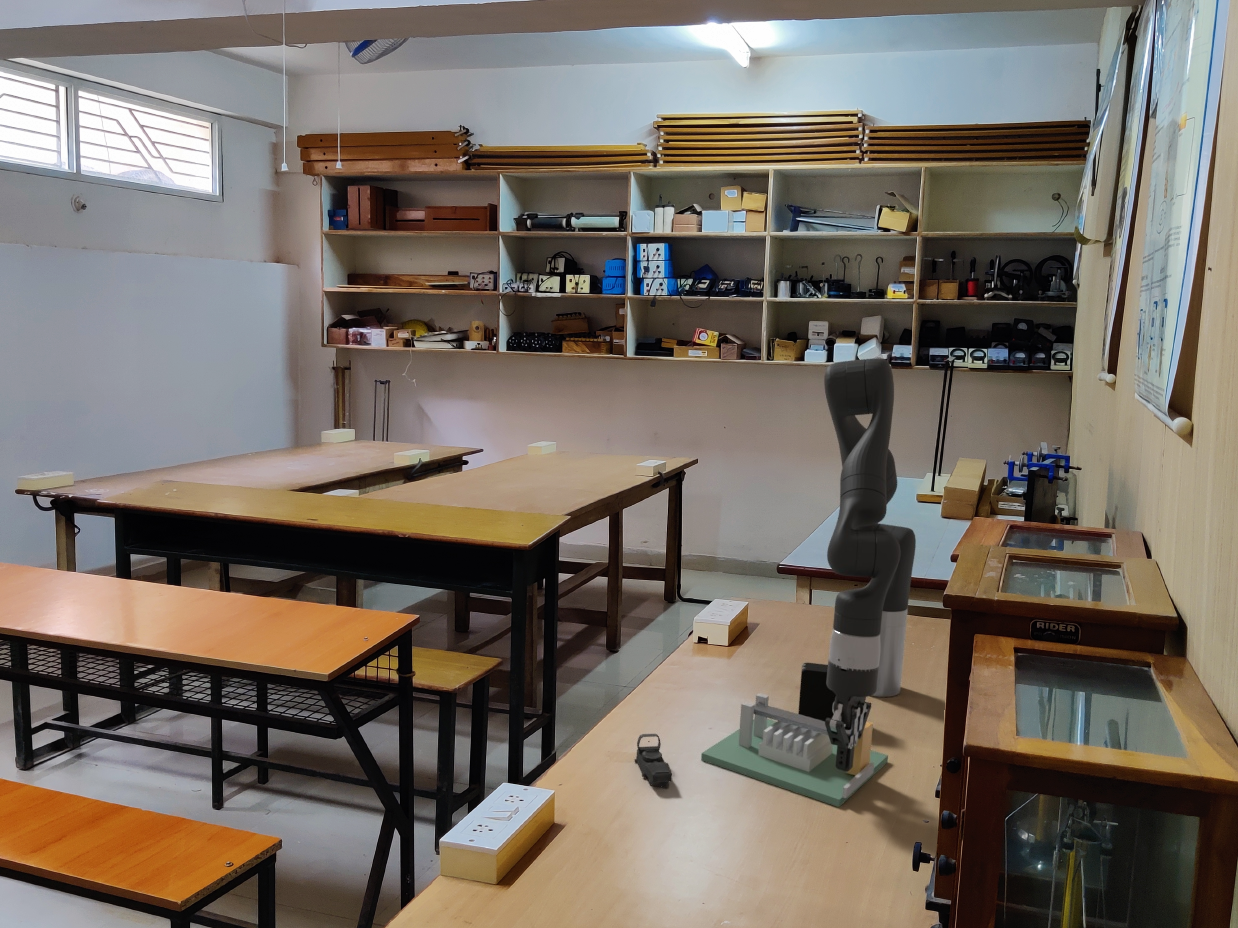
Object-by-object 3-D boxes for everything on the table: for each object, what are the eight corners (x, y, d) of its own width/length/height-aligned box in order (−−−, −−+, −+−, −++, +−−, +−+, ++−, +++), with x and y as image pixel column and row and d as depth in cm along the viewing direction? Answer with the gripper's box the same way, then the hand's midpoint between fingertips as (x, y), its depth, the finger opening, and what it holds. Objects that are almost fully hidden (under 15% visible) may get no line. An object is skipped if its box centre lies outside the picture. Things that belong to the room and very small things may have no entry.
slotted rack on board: (758, 722, 177) (761, 677, 176) (890, 762, 163) (895, 714, 162) (701, 759, 161) (704, 711, 160) (842, 808, 147) (847, 755, 146)
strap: (756, 706, 168) (757, 700, 168) (848, 732, 158) (848, 726, 158) (746, 712, 165) (747, 707, 165) (839, 739, 156) (839, 733, 155)
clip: (837, 757, 161) (841, 713, 160) (869, 767, 158) (873, 722, 157) (827, 766, 158) (830, 721, 157) (859, 776, 155) (863, 730, 153)
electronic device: (854, 729, 177) (858, 675, 175) (797, 722, 178) (801, 669, 177) (853, 719, 181) (858, 667, 179) (798, 713, 183) (802, 661, 181)
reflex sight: (648, 791, 150) (649, 760, 149) (634, 762, 160) (635, 732, 159) (673, 790, 151) (674, 759, 150) (657, 761, 161) (659, 732, 160)
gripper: (847, 645, 157) (838, 749, 159) (812, 663, 147) (802, 774, 149) (893, 656, 153) (882, 763, 155) (860, 675, 142) (850, 790, 144)
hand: (843, 768), depth 152 cm, fingers closed
